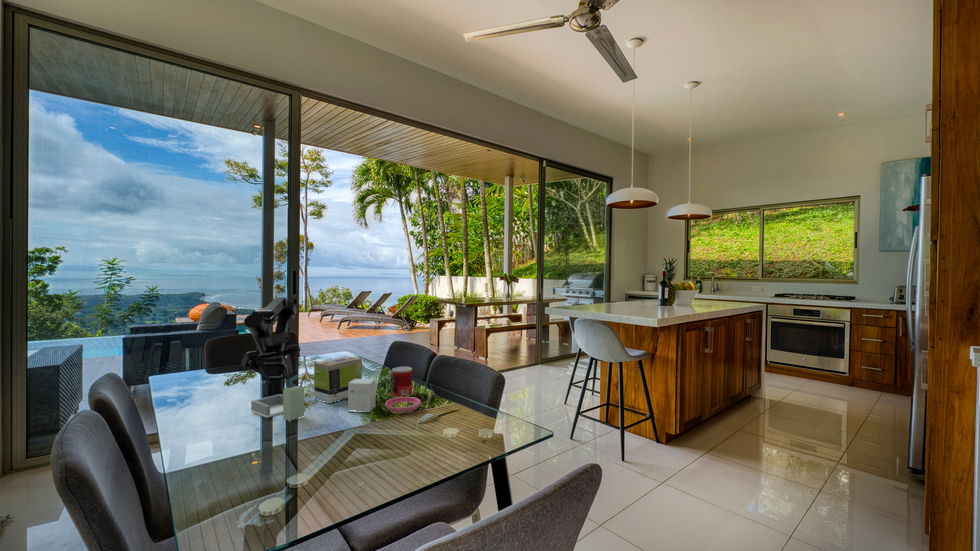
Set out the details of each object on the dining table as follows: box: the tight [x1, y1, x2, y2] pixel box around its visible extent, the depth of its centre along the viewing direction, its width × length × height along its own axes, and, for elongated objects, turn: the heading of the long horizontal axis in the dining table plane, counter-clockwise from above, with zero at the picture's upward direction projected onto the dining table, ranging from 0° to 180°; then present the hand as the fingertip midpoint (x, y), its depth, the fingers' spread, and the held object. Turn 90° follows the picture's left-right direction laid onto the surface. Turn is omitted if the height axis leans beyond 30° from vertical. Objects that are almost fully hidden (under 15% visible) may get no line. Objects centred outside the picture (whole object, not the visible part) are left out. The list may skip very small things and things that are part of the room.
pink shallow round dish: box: [384, 396, 422, 413], centre depth 153 cm, size 12×12×3 cm
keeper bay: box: [250, 394, 283, 418], centre depth 150 cm, size 10×10×4 cm
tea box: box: [313, 355, 363, 404], centre depth 166 cm, size 15×10×15 cm
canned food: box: [391, 366, 413, 397], centre depth 168 cm, size 8×8×11 cm
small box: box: [347, 378, 376, 412], centre depth 151 cm, size 8×6×10 cm
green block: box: [282, 385, 305, 422], centre depth 143 cm, size 4×5×10 cm
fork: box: [418, 413, 437, 423], centre depth 147 cm, size 3×21×3 cm, turn 142°
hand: (281, 375), depth 147 cm, fingers open, 9 cm apart
